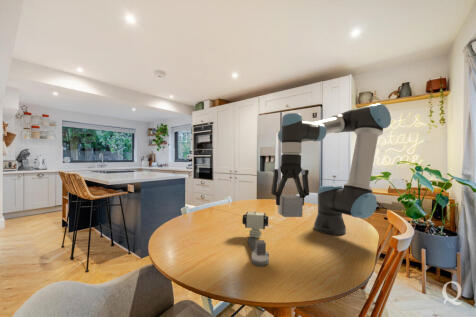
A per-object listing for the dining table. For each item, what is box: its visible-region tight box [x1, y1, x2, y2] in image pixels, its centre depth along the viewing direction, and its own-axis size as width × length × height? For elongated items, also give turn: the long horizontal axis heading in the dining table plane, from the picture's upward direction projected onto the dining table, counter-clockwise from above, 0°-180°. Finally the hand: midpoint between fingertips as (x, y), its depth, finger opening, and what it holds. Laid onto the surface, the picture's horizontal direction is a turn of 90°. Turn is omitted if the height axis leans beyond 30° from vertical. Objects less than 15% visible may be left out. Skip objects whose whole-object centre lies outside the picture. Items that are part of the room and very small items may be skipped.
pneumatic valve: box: [241, 210, 269, 239], centre depth 93 cm, size 6×12×12 cm, turn 78°
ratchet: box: [247, 236, 270, 268], centre depth 77 cm, size 6×20×7 cm, turn 7°
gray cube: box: [281, 194, 304, 218], centre depth 77 cm, size 7×7×7 cm
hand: (289, 213), depth 77 cm, fingers closed on gray cube, 7 cm apart
